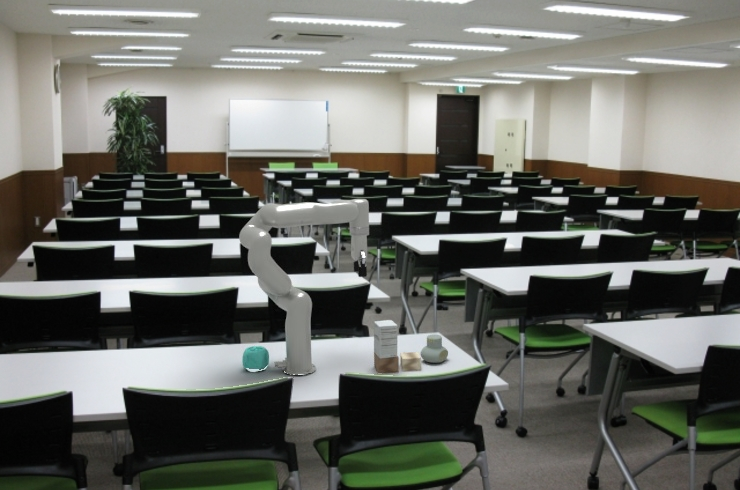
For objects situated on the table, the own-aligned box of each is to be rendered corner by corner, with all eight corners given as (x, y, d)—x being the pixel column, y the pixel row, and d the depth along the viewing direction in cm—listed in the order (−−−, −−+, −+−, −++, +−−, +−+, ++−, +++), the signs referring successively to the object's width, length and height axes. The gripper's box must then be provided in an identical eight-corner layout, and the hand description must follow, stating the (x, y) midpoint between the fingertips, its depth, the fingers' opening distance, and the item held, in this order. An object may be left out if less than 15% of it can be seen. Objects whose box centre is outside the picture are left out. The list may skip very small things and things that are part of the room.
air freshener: (435, 366, 280) (435, 341, 278) (417, 362, 285) (417, 338, 283) (450, 359, 288) (450, 334, 287) (432, 355, 293) (432, 331, 291)
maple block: (402, 371, 276) (402, 358, 275) (400, 365, 283) (400, 352, 282) (420, 370, 276) (420, 358, 275) (418, 364, 283) (418, 352, 282)
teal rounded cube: (262, 373, 276) (261, 353, 275) (242, 372, 278) (241, 352, 276) (269, 366, 284) (268, 346, 282) (250, 364, 285) (249, 345, 284)
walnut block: (377, 374, 273) (377, 358, 272) (374, 366, 281) (374, 352, 280) (398, 372, 275) (398, 357, 274) (394, 365, 282) (394, 350, 281)
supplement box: (373, 352, 279) (373, 321, 277) (391, 351, 281) (392, 319, 279) (379, 359, 272) (379, 326, 270) (397, 357, 274) (398, 324, 272)
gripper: (346, 228, 290) (347, 269, 293) (353, 235, 273) (354, 279, 277) (364, 227, 292) (365, 268, 295) (373, 234, 275) (374, 278, 278)
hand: (360, 273), depth 286 cm, fingers open, 9 cm apart
